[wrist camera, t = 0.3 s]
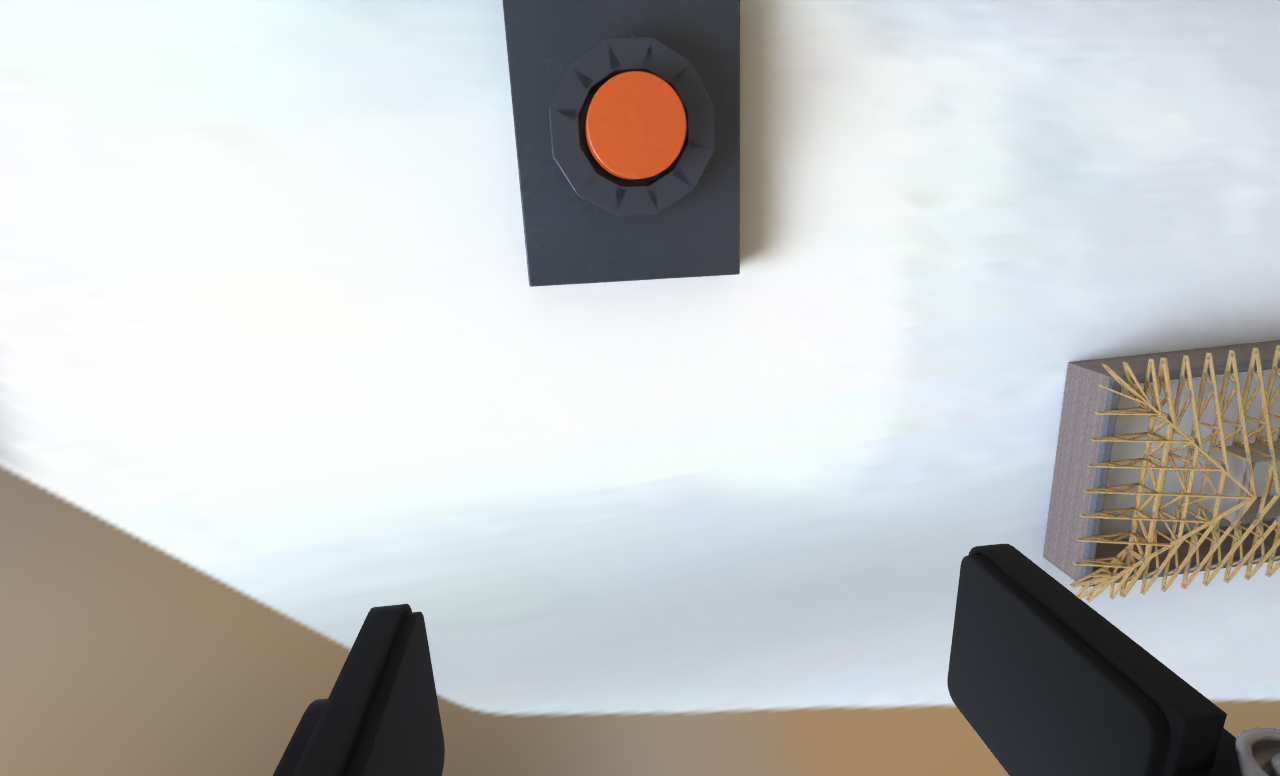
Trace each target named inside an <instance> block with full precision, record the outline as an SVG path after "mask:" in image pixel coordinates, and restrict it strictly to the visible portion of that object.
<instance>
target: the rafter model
mask: <svg viewBox="0 0 1280 776" xmlns="http://www.w3.org/2000/svg"><path fill="white" fill-rule="evenodd" d="M1279 368H1280V340H1279V341H1269V342H1260V343H1250V344H1241V345H1232V346H1222V347H1213V348H1203V349H1194V350H1184V351H1175V352H1165V353H1156V354H1146V355H1137V356H1127V357H1118V358H1108V359H1099V360H1089V361H1080V362H1070V363H1068V369H1067V376H1066V384H1065V392H1064V400H1063V407H1062V415H1061V423H1060V431H1059V439H1058V446H1057V454H1056V462H1055V470H1054V477H1053V485H1052V493H1051V501H1050V508H1049V516H1048V524H1047V532H1046V540H1045V547H1044V555H1043V557H1044V558H1045V559H1047V560H1048V561H1049V562H1051V563H1052V564H1053V565H1055V566H1056V567H1057V568H1059V569H1060V570H1061V571H1063V572H1064V573H1065V574H1067V575H1068V576H1069V577H1070V578H1072V579H1073V580H1074V581H1076V582H1074V583H1072V584H1070V586H1071V587H1073V588H1074V587H1078V586H1082V587H1083V588H1082V589H1080V590H1079V591H1078V592H1077V593H1076V594H1075V596H1077V597H1078V598H1079V599H1082V598H1083V597H1085V596H1087V595H1088V596H1087V598H1086V600H1087V601H1088V602H1090V601H1091V600H1093V599H1094V598H1095V597H1096V596H1098V595H1099V594H1100V593H1101V592H1102V591H1104V590H1105V589H1106V588H1107V587H1109V586H1110V585H1111V590H1110V596H1109V597H1110V598H1112V599H1114V597H1115V596H1116V594H1117V593H1118V591H1119V590H1120V589H1121V591H1120V596H1121V597H1125V596H1126V595H1127V594H1128V592H1129V591H1130V589H1131V588H1132V586H1133V585H1134V584H1135V582H1136V581H1137V580H1141V579H1143V580H1142V586H1141V591H1140V593H1142V594H1143V595H1144V594H1145V593H1146V592H1147V590H1148V589H1149V588H1150V586H1151V585H1152V584H1153V582H1154V581H1155V579H1156V578H1157V577H1163V581H1162V586H1161V590H1162V591H1164V592H1165V591H1166V590H1167V588H1168V587H1169V586H1170V584H1171V583H1172V582H1173V581H1174V579H1175V578H1176V577H1177V575H1178V574H1184V575H1183V580H1182V585H1181V587H1182V588H1184V589H1186V588H1187V586H1188V585H1189V584H1190V582H1191V581H1192V580H1193V579H1194V577H1195V576H1196V575H1197V574H1198V572H1199V571H1205V574H1204V578H1203V583H1202V584H1204V585H1205V586H1207V585H1208V584H1209V583H1210V581H1211V580H1212V579H1213V578H1214V576H1215V575H1216V574H1217V573H1218V572H1219V570H1220V569H1221V568H1226V572H1225V576H1224V580H1223V581H1225V582H1226V583H1228V582H1229V581H1230V580H1231V579H1232V578H1233V576H1234V575H1235V574H1236V573H1237V572H1238V570H1239V569H1240V568H1241V567H1242V566H1243V565H1247V569H1246V573H1245V577H1244V578H1246V579H1247V580H1249V579H1250V578H1251V577H1252V576H1253V575H1254V574H1255V573H1256V571H1257V570H1258V569H1259V568H1260V567H1261V566H1262V565H1263V563H1264V562H1268V566H1267V570H1266V574H1265V575H1266V576H1268V577H1270V576H1271V575H1272V574H1273V573H1274V572H1275V571H1276V570H1277V569H1278V568H1279V566H1280V486H1279V479H1278V472H1277V466H1276V463H1277V460H1279V459H1280V427H1278V428H1277V429H1275V430H1273V431H1272V432H1271V427H1270V420H1269V416H1272V417H1275V418H1278V419H1280V416H1277V415H1273V414H1270V413H1268V412H1269V409H1270V408H1271V406H1272V404H1273V402H1274V401H1275V399H1276V397H1277V395H1278V394H1279V392H1280V385H1279V387H1278V389H1277V391H1276V392H1275V394H1274V396H1273V398H1272V399H1271V401H1270V403H1269V399H1270V395H1271V391H1272V386H1273V382H1274V377H1275V373H1276V372H1277V373H1278V375H1279V376H1280V371H1279ZM1266 369H1271V373H1270V377H1269V381H1268V386H1267V390H1266V394H1265V387H1264V381H1263V374H1262V370H1266ZM1256 370H1257V371H1258V376H1257V374H1256V372H1255V371H1256ZM1247 371H1248V374H1247V378H1246V383H1245V388H1244V392H1243V397H1242V396H1241V389H1240V383H1239V376H1238V372H1247ZM1231 373H1234V378H1233V376H1232V374H1231ZM1220 374H1224V379H1223V384H1222V389H1221V394H1220V399H1219V398H1218V391H1217V385H1216V378H1215V375H1220ZM1252 374H1253V375H1254V377H1255V378H1256V380H1257V384H1258V385H1257V387H1256V389H1255V391H1254V393H1253V394H1252V396H1251V398H1250V400H1249V402H1248V404H1247V405H1246V401H1247V397H1248V392H1249V388H1250V383H1251V378H1252ZM1210 376H1211V379H1210ZM1192 377H1202V379H1201V384H1200V389H1199V395H1198V400H1197V405H1196V401H1195V394H1194V388H1193V381H1192ZM1229 377H1230V379H1231V380H1232V382H1233V385H1234V388H1233V390H1232V392H1231V394H1230V396H1229V398H1228V400H1227V402H1226V404H1225V406H1224V407H1223V403H1224V398H1225V393H1226V388H1227V383H1228V379H1229ZM1186 378H1188V382H1189V386H1188V383H1187V381H1186V380H1187V379H1186ZM1206 378H1207V380H1208V382H1209V384H1210V386H1211V391H1210V393H1209V395H1208V397H1207V399H1206V401H1205V403H1204V405H1203V407H1202V409H1201V410H1200V406H1201V401H1202V396H1203V391H1204V386H1205V380H1206ZM1174 379H1179V384H1178V389H1177V394H1176V400H1175V405H1174V404H1173V397H1172V390H1171V383H1170V380H1174ZM1211 380H1212V381H1211ZM1151 382H1153V384H1154V391H1155V393H1154V392H1153V389H1152V386H1151ZM1183 382H1184V384H1185V386H1186V389H1187V391H1188V393H1189V398H1188V400H1187V402H1186V403H1185V405H1184V407H1183V409H1182V411H1181V413H1180V415H1179V417H1178V419H1177V421H1176V417H1177V412H1178V406H1179V401H1180V395H1181V390H1182V384H1183ZM1139 383H1145V386H1144V391H1143V389H1142V388H1141V386H1140V384H1139ZM1128 384H1129V385H1128ZM1134 384H1136V386H1137V387H1138V388H1137V387H1136V386H1135V385H1134ZM1121 386H1122V387H1123V389H1124V390H1125V391H1126V392H1127V393H1128V394H1129V395H1130V396H1131V397H1130V396H1127V395H1125V394H1122V393H1120V391H1121ZM1161 386H1162V387H1163V390H1164V392H1165V398H1164V399H1163V400H1162V402H1161V403H1160V398H1159V397H1160V392H1161ZM1133 387H1134V388H1133ZM1148 387H1149V390H1150V393H1151V395H1152V398H1153V405H1151V403H1150V401H1149V400H1148V398H1147V396H1146V395H1147V389H1148ZM1259 388H1260V391H1261V397H1262V404H1263V408H1262V412H1261V417H1260V420H1257V419H1254V418H1251V417H1248V416H1245V414H1246V412H1247V410H1248V408H1249V406H1250V405H1251V403H1252V401H1253V399H1254V397H1255V396H1256V394H1257V392H1258V390H1259ZM1134 389H1135V390H1136V391H1137V392H1138V393H1139V394H1138V393H1137V392H1136V391H1135V390H1134ZM1235 391H1236V392H1237V399H1238V405H1239V416H1238V420H1237V423H1234V422H1232V421H1229V420H1226V419H1223V418H1222V416H1223V414H1224V412H1225V410H1226V408H1227V407H1228V405H1229V403H1230V401H1231V399H1232V397H1233V395H1234V393H1235ZM1131 392H1132V393H1131ZM1213 393H1214V400H1215V407H1216V418H1215V423H1214V426H1213V425H1210V424H1207V423H1205V422H1202V421H1199V420H1200V417H1201V415H1202V413H1203V411H1204V409H1205V408H1206V406H1207V404H1208V402H1209V400H1210V398H1211V396H1212V394H1213ZM1120 395H1123V396H1125V397H1128V398H1130V399H1133V400H1134V401H1135V402H1136V403H1137V404H1138V405H1139V406H1140V407H1134V408H1125V409H1118V404H1119V398H1120ZM1136 397H1137V398H1139V399H1140V400H1141V401H1140V400H1137V398H1136ZM1167 400H1168V406H1169V413H1170V415H1169V414H1166V413H1163V412H1161V407H1162V406H1163V405H1164V404H1165V403H1166V402H1167ZM1190 401H1191V403H1192V410H1193V416H1194V420H1193V426H1192V431H1191V436H1189V435H1186V434H1184V433H1182V432H1181V431H1180V430H1179V429H1178V428H1177V426H1178V424H1179V422H1180V420H1181V418H1182V416H1183V414H1184V412H1185V410H1186V408H1187V406H1188V404H1189V402H1190ZM1140 402H1141V403H1142V404H1141V403H1140ZM1268 404H1269V405H1268ZM1245 406H1246V407H1245ZM1144 407H1145V408H1144ZM1148 407H1149V408H1152V411H1149V409H1148ZM1222 408H1223V409H1222ZM1137 409H1140V410H1142V411H1144V412H1138V411H1128V410H1137ZM1199 411H1200V412H1199ZM1121 412H1125V413H1121ZM1117 415H1148V416H1149V417H1150V422H1149V428H1148V432H1143V433H1134V434H1126V435H1117V436H1114V430H1115V423H1116V417H1117ZM1156 415H1159V416H1161V417H1162V418H1163V419H1164V420H1163V419H1161V418H1158V417H1156ZM1164 416H1165V417H1164ZM1166 417H1167V418H1166ZM1245 418H1246V419H1249V420H1252V421H1255V422H1258V423H1259V426H1258V429H1256V430H1255V431H1253V432H1251V433H1250V434H1248V435H1247V429H1246V422H1245ZM1156 419H1157V420H1160V421H1162V423H1161V424H1160V425H1158V426H1157V427H1156V428H1155V429H1154V426H1155V420H1156ZM1222 421H1224V422H1227V423H1230V424H1233V425H1236V430H1235V431H1234V432H1232V433H1231V434H1229V435H1228V436H1226V437H1225V438H1224V432H1223V425H1222ZM1264 421H1265V422H1264ZM1166 423H1168V429H1167V434H1166V437H1163V436H1161V435H1158V434H1156V433H1155V432H1156V431H1158V430H1159V429H1160V428H1161V427H1163V426H1164V425H1165V424H1166ZM1199 423H1200V424H1203V425H1206V426H1208V427H1211V428H1213V433H1212V434H1211V435H1210V436H1208V437H1207V438H1205V439H1204V440H1202V441H1201V435H1200V428H1199ZM1218 427H1219V428H1218ZM1265 427H1266V430H1267V435H1265V436H1264V437H1262V438H1261V434H1262V430H1263V428H1265ZM1241 430H1242V432H1243V438H1242V439H1240V440H1239V441H1238V438H1239V434H1240V431H1241ZM1277 431H1279V434H1278V438H1277V441H1273V440H1272V434H1274V433H1275V432H1277ZM1195 432H1196V437H1197V439H1196V438H1194V437H1195ZM1173 433H1177V434H1179V435H1182V436H1183V437H1184V438H1185V439H1187V440H1188V441H1177V440H1172V439H1173ZM1217 433H1219V434H1220V441H1218V442H1217V443H1215V441H1216V437H1217ZM1255 433H1257V434H1256V439H1255V443H1253V444H1249V442H1248V438H1249V437H1250V436H1252V435H1253V434H1255ZM1137 435H1139V436H1137ZM1146 435H1147V440H1135V439H1138V438H1140V437H1143V436H1146ZM1233 435H1234V439H1233V444H1232V446H1228V447H1226V445H1225V440H1226V439H1228V438H1230V437H1231V436H1233ZM1129 436H1136V437H1133V438H1131V439H1123V438H1120V437H1129ZM1152 437H1154V438H1157V439H1159V440H1152ZM1267 437H1268V442H1263V440H1264V439H1265V438H1267ZM1210 438H1211V443H1210V448H1209V453H1208V455H1207V454H1206V453H1205V452H1204V451H1203V449H1202V444H1203V443H1204V442H1206V441H1207V440H1209V439H1210ZM1194 440H1195V441H1194ZM1242 441H1244V445H1241V444H1240V442H1242ZM1112 442H1146V445H1145V451H1144V457H1143V458H1137V459H1129V460H1120V461H1112V462H1110V455H1111V449H1112ZM1152 442H1156V443H1160V444H1159V445H1158V446H1156V447H1155V448H1154V449H1153V450H1151V451H1150V449H1151V443H1152ZM1172 443H1188V444H1186V445H1183V446H1181V447H1178V448H1176V449H1173V450H1171V451H1170V449H1171V444H1172ZM1220 443H1221V447H1217V445H1219V444H1220ZM1164 444H1165V445H1164ZM1163 445H1164V451H1163V456H1162V460H1160V459H1157V458H1155V457H1153V456H1151V455H1152V454H1153V453H1154V452H1155V451H1157V450H1158V449H1159V448H1160V447H1162V446H1163ZM1187 446H1188V451H1187V457H1186V459H1185V458H1182V457H1180V456H1178V455H1175V454H1173V453H1172V452H1175V451H1177V450H1180V449H1182V448H1185V447H1187ZM1193 446H1194V447H1193ZM1194 449H1195V451H1194ZM1199 451H1200V452H1201V453H1199ZM1191 455H1192V456H1193V462H1192V461H1190V457H1191ZM1198 455H1200V456H1202V457H1205V458H1207V462H1206V467H1205V468H1203V467H1202V465H1201V464H1200V462H1199V461H1198ZM1172 456H1174V457H1176V458H1178V459H1181V460H1183V461H1185V467H1176V465H1175V463H1174V460H1173V458H1172ZM1169 458H1170V461H1171V463H1172V465H1173V467H1167V466H1168V460H1169ZM1151 459H1152V460H1154V461H1157V462H1159V463H1161V466H1159V465H1157V464H1155V463H1152V462H1151ZM1132 461H1134V462H1132ZM1141 461H1143V463H1142V466H1131V465H1133V464H1136V463H1139V462H1141ZM1263 461H1269V463H1270V465H1269V469H1268V473H1267V477H1266V482H1265V486H1264V490H1263V494H1262V497H1257V495H1256V489H1255V482H1254V475H1253V469H1254V465H1255V462H1263ZM1124 462H1132V463H1129V464H1127V465H1119V464H1115V463H1124ZM1189 463H1190V464H1192V467H1191V468H1188V467H1189ZM1196 464H1198V466H1199V468H1196ZM1112 465H1113V466H1112ZM1152 465H1154V466H1156V467H1153V466H1152ZM1108 468H1132V469H1141V474H1140V480H1139V483H1134V484H1126V485H1118V486H1110V487H1106V481H1107V475H1108ZM1147 469H1149V471H1150V475H1151V478H1152V482H1153V486H1154V490H1155V491H1153V490H1151V489H1149V488H1147V487H1145V486H1144V483H1145V477H1146V472H1147ZM1153 469H1160V473H1159V478H1158V484H1157V481H1156V478H1155V474H1154V470H1153ZM1167 470H1175V472H1176V474H1177V476H1178V478H1179V480H1180V482H1181V488H1180V493H1179V494H1177V493H1163V487H1164V482H1165V476H1166V471H1167ZM1178 470H1184V472H1183V477H1182V478H1181V476H1180V473H1179V471H1178ZM1188 470H1191V472H1190V477H1189V482H1188V488H1187V489H1186V486H1185V483H1186V478H1187V472H1188ZM1195 470H1201V471H1202V472H1203V474H1204V477H1203V482H1202V487H1201V492H1200V494H1191V489H1192V484H1193V479H1194V474H1195ZM1273 476H1274V483H1275V489H1276V495H1273V496H1269V493H1270V488H1271V484H1272V480H1273ZM1250 485H1251V492H1252V494H1251V493H1250V492H1249V487H1250ZM1129 486H1131V487H1129ZM1137 486H1138V492H1126V491H1128V490H1130V489H1133V488H1135V487H1137ZM1121 487H1129V488H1126V489H1124V490H1121V491H1117V490H1112V489H1113V488H1121ZM1143 489H1146V490H1148V491H1150V492H1152V493H1150V492H1143ZM1105 490H1108V491H1105ZM1184 491H1185V493H1184ZM1105 493H1109V494H1136V495H1137V498H1136V503H1135V507H1134V508H1126V509H1118V510H1110V511H1103V512H1102V507H1103V500H1104V494H1105ZM1248 494H1249V495H1250V496H1248ZM1142 495H1151V496H1150V497H1149V498H1148V500H1147V501H1146V502H1145V503H1144V504H1143V505H1142V506H1141V500H1142ZM1162 495H1163V496H1178V497H1176V498H1175V499H1173V500H1171V501H1169V502H1168V503H1166V504H1164V505H1162V506H1161V507H1160V503H1161V498H1162ZM1184 496H1186V498H1185V503H1184V504H1182V505H1181V503H1182V498H1183V497H1184ZM1154 497H1155V500H1154V506H1153V511H1152V517H1150V516H1148V515H1146V514H1144V513H1143V512H1141V511H1142V510H1143V509H1144V508H1145V507H1146V506H1147V505H1148V504H1149V503H1150V502H1151V501H1152V500H1153V498H1154ZM1190 497H1199V499H1198V500H1194V501H1191V502H1189V499H1190ZM1177 500H1178V503H1177V508H1176V513H1175V517H1174V516H1172V515H1170V514H1168V513H1166V512H1164V511H1162V510H1161V509H1162V508H1164V507H1166V506H1168V505H1170V504H1171V503H1173V502H1175V501H1177ZM1196 502H1198V506H1197V511H1196V514H1195V513H1193V512H1191V511H1189V510H1187V509H1188V505H1190V504H1193V503H1196ZM1140 506H1141V507H1140ZM1183 506H1184V508H1183ZM1204 509H1206V510H1208V511H1210V512H1212V513H1213V517H1212V519H1211V520H1210V521H1209V519H1208V517H1207V514H1206V512H1205V510H1204ZM1201 510H1202V512H1203V515H1204V517H1205V518H1203V517H1201V516H1200V514H1201ZM1122 511H1126V512H1124V513H1122V514H1119V515H1117V516H1114V515H1109V514H1107V513H1114V512H1122ZM1132 511H1134V515H1133V517H1121V516H1123V515H1126V514H1128V513H1130V512H1132ZM1187 512H1188V513H1190V514H1192V515H1194V516H1195V520H1187V519H1186V514H1187ZM1162 513H1163V514H1165V515H1167V516H1169V517H1170V518H1172V519H1165V518H1164V517H1163V515H1162ZM1179 513H1181V515H1182V518H1181V519H1178V518H1179ZM1158 514H1159V515H1160V517H1161V518H1158ZM1101 515H1105V516H1101ZM1141 516H1142V517H1143V518H1142V517H1141ZM1272 517H1276V520H1275V521H1269V522H1263V519H1265V518H1272ZM1101 518H1107V519H1129V520H1133V521H1132V527H1131V531H1129V532H1122V533H1114V534H1106V535H1099V536H1098V532H1099V526H1100V520H1101ZM1221 518H1225V519H1227V520H1229V521H1230V522H1231V525H1230V526H1229V527H1223V528H1219V526H1220V521H1221ZM1199 519H1202V520H1199ZM1138 520H1139V523H1140V526H1141V528H1142V531H1143V534H1144V536H1145V538H1144V537H1143V536H1141V535H1139V534H1138V533H1136V529H1137V523H1138ZM1143 520H1149V521H1151V522H1150V528H1149V533H1147V531H1146V528H1145V525H1144V523H1143ZM1249 520H1253V521H1254V522H1253V523H1252V524H1246V525H1241V522H1242V521H1249ZM1157 521H1163V522H1164V523H1165V525H1166V527H1167V528H1168V530H1169V532H1170V535H1164V534H1162V533H1161V532H1159V531H1157V530H1156V525H1157ZM1166 521H1173V522H1174V524H1173V529H1172V530H1171V528H1170V527H1169V525H1168V523H1167V522H1166ZM1178 522H1180V528H1179V533H1178V534H1176V529H1177V524H1178ZM1188 522H1194V526H1193V531H1191V529H1190V527H1189V524H1188ZM1199 523H1205V524H1203V525H1201V526H1200V527H1198V524H1199ZM1184 524H1186V527H1187V529H1188V531H1189V532H1185V533H1183V529H1184ZM1235 525H1236V526H1235ZM1207 526H1209V527H1208V529H1207V530H1202V529H1204V528H1206V527H1207ZM1213 528H1214V529H1213ZM1156 533H1158V534H1159V535H1161V536H1157V535H1156ZM1118 535H1122V536H1120V537H1118V538H1116V539H1114V540H1109V539H1105V538H1103V537H1111V536H1118ZM1128 535H1130V538H1129V540H1124V541H1118V540H1120V539H1122V538H1124V537H1126V536H1128ZM1097 539H1101V540H1097ZM1097 542H1098V543H1102V544H1097ZM1273 561H1278V563H1277V564H1276V565H1275V566H1274V567H1273V568H1272V565H1273ZM1257 563H1258V564H1257ZM1252 564H1257V565H1256V566H1255V567H1254V569H1253V570H1252V571H1251V568H1252ZM1235 566H1236V568H1235V569H1234V570H1233V571H1232V572H1231V574H1230V570H1231V567H1235ZM1213 569H1215V570H1214V571H1213V572H1212V574H1211V575H1210V576H1209V571H1210V570H1213ZM1192 572H1193V573H1192ZM1188 573H1192V575H1191V576H1190V577H1189V579H1188V580H1187V577H1188ZM1229 574H1230V575H1229ZM1170 575H1172V577H1171V578H1170V579H1169V581H1168V582H1167V583H1166V580H1167V576H1170ZM1208 576H1209V577H1208ZM1148 578H1151V580H1150V581H1149V582H1148V584H1147V585H1146V586H1145V584H1146V579H1148ZM1128 581H1130V582H1129V584H1128V585H1127V582H1128ZM1119 582H1120V583H1119ZM1115 583H1119V585H1118V586H1117V588H1116V589H1115V590H1114V585H1115ZM1090 586H1094V587H1093V588H1092V589H1090V590H1088V591H1087V592H1085V593H1083V592H1084V591H1085V590H1086V589H1087V588H1088V587H1090ZM1126 586H1127V587H1126ZM1099 588H1100V589H1099ZM1097 589H1099V590H1098V591H1097V592H1095V593H1094V591H1096V590H1097ZM1113 591H1114V592H1113ZM1081 593H1083V594H1082V595H1080V594H1081ZM1093 593H1094V594H1093ZM1092 594H1093V595H1092ZM1079 595H1080V596H1079Z"/></svg>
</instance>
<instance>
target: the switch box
mask: <svg viewBox="0 0 1280 776" xmlns="http://www.w3.org/2000/svg"><path fill="white" fill-rule="evenodd" d="M503 9H504V20H505V30H506V41H507V52H508V62H509V73H510V84H511V94H512V105H513V116H514V126H515V137H516V148H517V158H518V169H519V180H520V190H521V201H522V212H523V222H524V233H525V244H526V254H527V265H528V276H529V285H530V286H531V287H532V286H548V285H565V284H582V283H599V282H616V281H633V280H650V279H667V278H684V277H701V276H718V275H735V274H739V273H740V0H503ZM628 71H643V72H648V73H651V74H654V75H656V76H658V77H660V78H662V79H663V80H665V81H666V82H667V83H668V84H669V85H670V86H671V87H672V88H673V89H674V90H675V91H676V93H677V94H678V96H679V98H680V100H681V102H682V104H683V107H684V110H685V115H686V123H687V128H686V137H685V141H684V144H683V147H682V149H681V151H680V153H679V155H678V157H677V158H676V159H675V161H674V162H673V163H672V164H671V165H670V166H669V167H668V168H667V169H665V170H664V171H662V172H661V173H659V174H657V175H655V176H652V177H649V178H644V179H638V180H628V179H623V178H619V177H616V176H614V175H612V174H610V173H609V172H607V171H606V170H605V169H604V168H602V167H601V166H600V165H599V164H598V162H597V161H596V160H595V158H594V157H593V155H592V153H591V151H590V149H589V146H588V143H587V139H586V132H585V124H586V117H587V113H588V109H589V106H590V104H591V101H592V99H593V97H594V95H595V94H596V92H597V91H598V89H599V88H600V87H601V86H602V85H603V84H604V83H605V82H606V81H608V80H609V79H611V78H612V77H614V76H616V75H618V74H621V73H624V72H628Z"/></svg>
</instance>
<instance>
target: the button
mask: <svg viewBox="0 0 1280 776" xmlns="http://www.w3.org/2000/svg"><path fill="white" fill-rule="evenodd" d="M686 128H687V123H686V115H685V110H684V107H683V104H682V102H681V100H680V98H679V96H678V94H677V93H676V91H675V90H674V89H673V88H672V87H671V86H670V85H669V84H668V83H667V82H666V81H665V80H663V79H662V78H660V77H658V76H656V75H654V74H651V73H648V72H643V71H628V72H624V73H621V74H618V75H616V76H614V77H612V78H611V79H609V80H608V81H606V82H605V83H604V84H603V85H602V86H601V87H600V88H599V89H598V91H597V92H596V94H595V95H594V97H593V99H592V101H591V104H590V106H589V109H588V113H587V117H586V124H585V132H586V139H587V143H588V146H589V149H590V151H591V153H592V155H593V157H594V158H595V160H596V161H597V162H598V164H599V165H600V166H601V167H602V168H604V169H605V170H606V171H607V172H609V173H610V174H612V175H614V176H616V177H619V178H623V179H628V180H638V179H644V178H649V177H652V176H655V175H657V174H659V173H661V172H662V171H664V170H665V169H667V168H668V167H669V166H670V165H671V164H672V163H673V162H674V161H675V159H676V158H677V157H678V155H679V153H680V151H681V149H682V147H683V144H684V141H685V137H686Z"/></svg>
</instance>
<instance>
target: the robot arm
mask: <svg viewBox="0 0 1280 776" xmlns="http://www.w3.org/2000/svg"><path fill="white" fill-rule="evenodd" d="M948 689H949V693H950V696H951V698H952V700H953V702H954V703H955V705H956V706H957V707H958V709H959V710H960V711H961V713H962V714H963V715H964V717H965V718H966V719H967V721H968V722H969V723H970V724H971V726H972V727H973V728H974V730H975V731H976V732H977V733H978V735H979V736H980V737H981V739H982V740H983V741H984V743H985V744H986V745H987V747H988V748H989V749H990V750H991V752H992V753H993V754H994V756H995V757H996V758H997V759H998V761H999V762H1000V764H1001V765H1002V766H1003V767H1004V769H1005V770H1006V771H1007V772H1008V774H1009V775H1010V776H1280V729H1276V728H1253V729H1249V730H1245V731H1244V732H1242V733H1241V734H1240V735H1239V736H1238V737H1237V738H1235V737H1234V736H1233V735H1231V734H1230V733H1229V732H1228V731H1227V730H1225V729H1224V728H1223V726H1224V723H1225V719H1226V716H1227V714H1226V713H1225V712H1224V711H1222V710H1221V709H1220V708H1218V707H1217V706H1216V705H1215V704H1213V703H1212V702H1211V701H1210V700H1208V699H1207V698H1206V697H1204V696H1203V695H1202V694H1201V693H1199V692H1198V691H1197V690H1195V689H1194V688H1193V687H1192V686H1190V685H1189V684H1188V683H1187V682H1185V681H1184V680H1183V679H1181V678H1180V677H1179V676H1178V675H1176V674H1175V673H1174V672H1172V671H1171V670H1170V669H1169V668H1167V667H1166V666H1165V665H1164V664H1162V663H1161V662H1160V661H1158V660H1157V659H1156V658H1155V657H1153V656H1152V655H1151V654H1150V653H1148V652H1147V651H1146V650H1144V649H1143V648H1142V647H1141V646H1139V645H1138V644H1137V643H1135V642H1134V641H1133V640H1132V639H1130V638H1129V637H1128V636H1127V635H1125V634H1124V633H1123V632H1121V631H1120V630H1119V629H1118V628H1116V627H1115V626H1114V625H1112V624H1111V623H1110V622H1109V621H1107V620H1106V619H1105V618H1104V617H1102V616H1101V615H1100V614H1098V613H1097V612H1096V611H1095V610H1093V609H1092V608H1091V607H1090V606H1088V605H1087V604H1086V603H1084V602H1083V601H1082V600H1081V599H1079V598H1078V597H1077V596H1075V595H1074V594H1073V593H1072V592H1070V591H1069V590H1068V589H1067V588H1065V587H1064V586H1063V585H1061V584H1060V583H1059V582H1058V581H1056V580H1055V579H1054V578H1053V577H1051V576H1050V575H1049V574H1047V573H1046V572H1045V571H1044V570H1042V569H1041V568H1040V567H1038V566H1037V565H1036V564H1035V563H1033V562H1032V561H1031V560H1030V559H1028V558H1027V557H1026V556H1024V555H1023V554H1022V553H1021V552H1019V551H1018V550H1017V549H1015V548H1014V547H1013V546H1011V545H1009V544H996V545H986V546H977V547H974V548H972V549H971V551H970V552H969V556H966V557H964V558H963V560H962V562H961V569H960V577H959V586H958V594H957V603H956V611H955V620H954V629H953V637H952V646H951V654H950V663H949V671H948ZM444 752H445V750H444V738H443V732H442V726H441V720H440V714H439V707H438V701H437V695H436V689H435V683H434V677H433V671H432V664H431V658H430V652H429V646H428V640H427V634H426V628H425V622H424V617H423V614H422V613H421V612H414V613H412V610H411V608H410V605H408V604H402V605H392V606H382V607H374V608H371V610H370V611H369V613H368V615H367V617H366V619H365V621H364V623H363V626H362V628H361V630H360V632H359V634H358V636H357V638H356V641H355V643H354V645H353V647H352V649H351V651H350V653H349V655H348V658H347V660H346V662H345V664H344V666H343V668H342V670H341V672H340V675H339V677H338V679H337V681H336V683H335V685H334V688H333V690H332V692H331V694H330V696H329V698H328V699H320V700H315V701H313V702H312V703H311V704H310V705H309V706H308V708H307V709H306V711H305V713H304V715H303V717H302V719H301V721H300V723H299V724H298V727H297V728H296V730H295V733H294V734H293V736H292V738H291V741H290V742H289V744H288V746H287V748H286V751H285V753H284V754H283V757H282V759H281V760H280V763H279V765H278V766H277V768H276V771H275V772H274V774H273V776H442V771H443V765H444Z"/></svg>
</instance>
